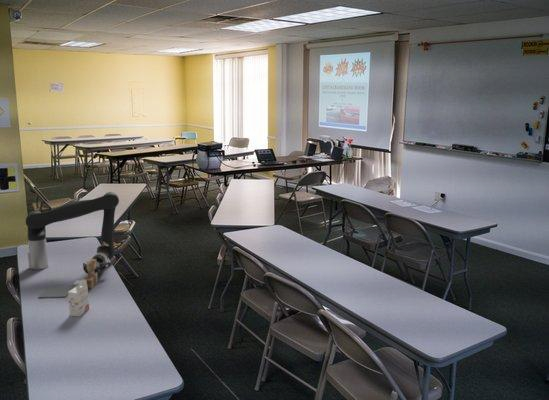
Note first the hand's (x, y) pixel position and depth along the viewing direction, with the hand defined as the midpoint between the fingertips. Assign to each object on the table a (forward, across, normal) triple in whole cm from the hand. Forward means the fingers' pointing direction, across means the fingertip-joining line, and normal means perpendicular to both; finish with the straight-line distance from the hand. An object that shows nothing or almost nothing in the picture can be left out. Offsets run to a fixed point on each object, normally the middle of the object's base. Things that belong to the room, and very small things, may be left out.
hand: (90, 271), depth 256 cm
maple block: (-3, 0, +6) cm, 7 cm away
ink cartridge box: (+36, +4, +7) cm, 37 cm away
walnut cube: (+6, 0, +7) cm, 9 cm away
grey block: (+13, -2, +7) cm, 15 cm away
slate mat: (+12, -14, +6) cm, 20 cm away
